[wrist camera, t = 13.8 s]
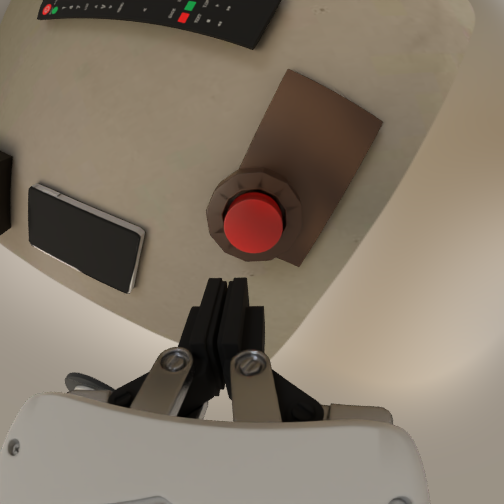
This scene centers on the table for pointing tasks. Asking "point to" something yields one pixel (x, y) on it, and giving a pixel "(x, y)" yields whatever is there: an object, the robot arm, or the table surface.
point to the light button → (253, 222)
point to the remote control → (177, 15)
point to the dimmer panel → (5, 191)
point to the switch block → (297, 165)
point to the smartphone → (84, 237)
